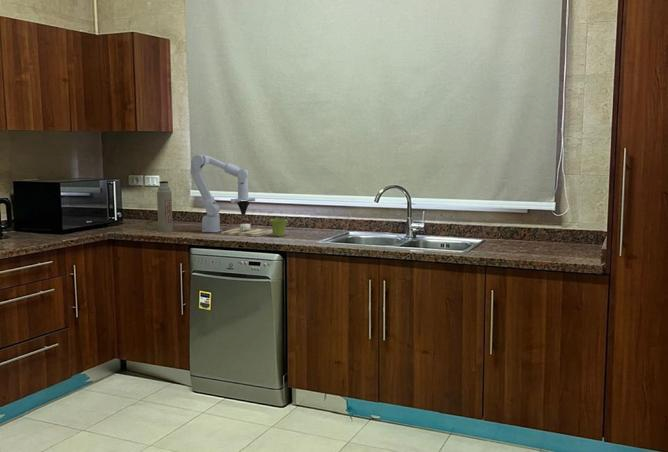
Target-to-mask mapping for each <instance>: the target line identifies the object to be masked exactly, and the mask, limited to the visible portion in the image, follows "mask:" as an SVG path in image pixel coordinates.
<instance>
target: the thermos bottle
mask: <svg viewBox="0 0 668 452" xmlns="http://www.w3.org/2000/svg"><path fill="white" fill-rule="evenodd" d="M158 183H159V186H158V187H157V191H156V201H157V202H156V203H157V205H156V206H157V230H158V232H171V231H173V230H174V228H173V226H174V225H173V202H172V201H173V200H172V199H173V198H172V191H171V187H170V186H169V181H167V180H164V181H158Z"/></svg>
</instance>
